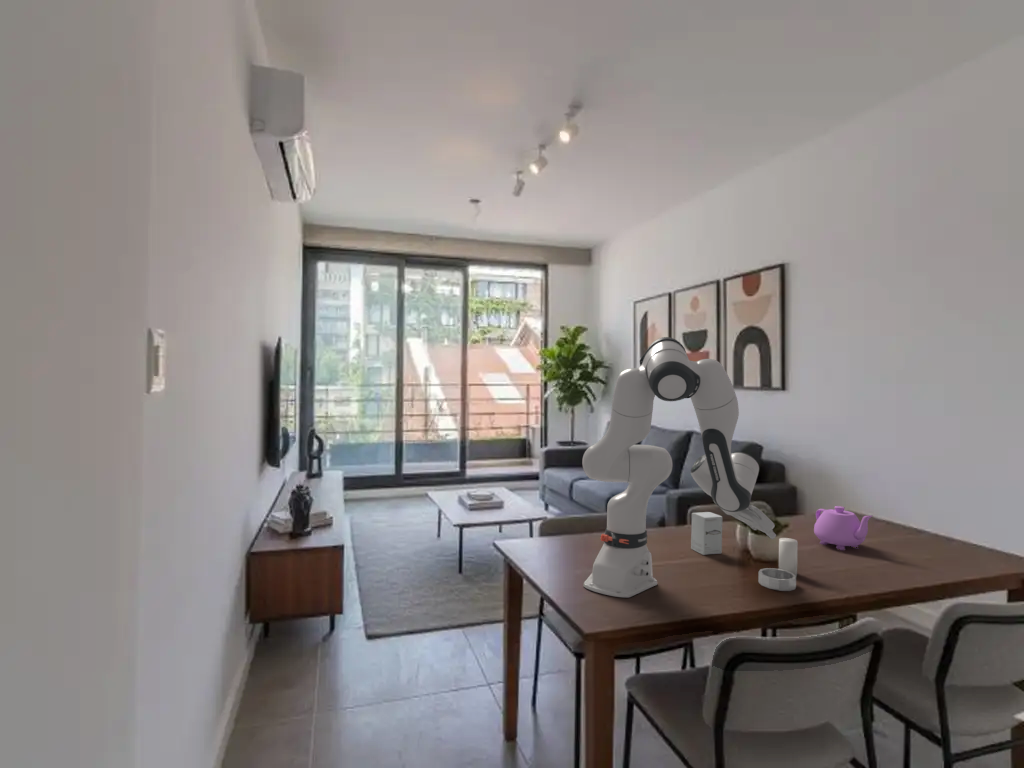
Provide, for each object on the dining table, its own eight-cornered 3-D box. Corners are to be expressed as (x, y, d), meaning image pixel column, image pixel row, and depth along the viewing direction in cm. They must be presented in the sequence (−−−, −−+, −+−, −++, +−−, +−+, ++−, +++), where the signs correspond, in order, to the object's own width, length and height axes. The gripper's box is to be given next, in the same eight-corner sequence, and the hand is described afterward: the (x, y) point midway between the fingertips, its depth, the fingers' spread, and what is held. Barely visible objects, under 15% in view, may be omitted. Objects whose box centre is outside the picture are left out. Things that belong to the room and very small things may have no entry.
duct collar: (792, 593, 150) (793, 582, 150) (755, 585, 155) (756, 575, 155) (797, 583, 158) (798, 572, 158) (762, 576, 163) (762, 566, 163)
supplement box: (703, 555, 182) (703, 517, 182) (690, 548, 189) (690, 512, 189) (722, 553, 184) (723, 516, 184) (709, 547, 191) (709, 511, 191)
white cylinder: (795, 577, 162) (796, 543, 162) (777, 573, 165) (777, 540, 165) (798, 572, 166) (798, 539, 166) (780, 569, 169) (780, 536, 169)
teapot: (887, 553, 186) (888, 512, 186) (854, 558, 181) (855, 516, 181) (829, 535, 207) (830, 499, 207) (798, 539, 201) (799, 502, 201)
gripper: (759, 500, 153) (792, 534, 154) (724, 486, 173) (754, 516, 174) (743, 516, 152) (777, 550, 153) (711, 500, 173) (740, 530, 174)
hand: (764, 532), depth 164 cm, fingers open, 8 cm apart
